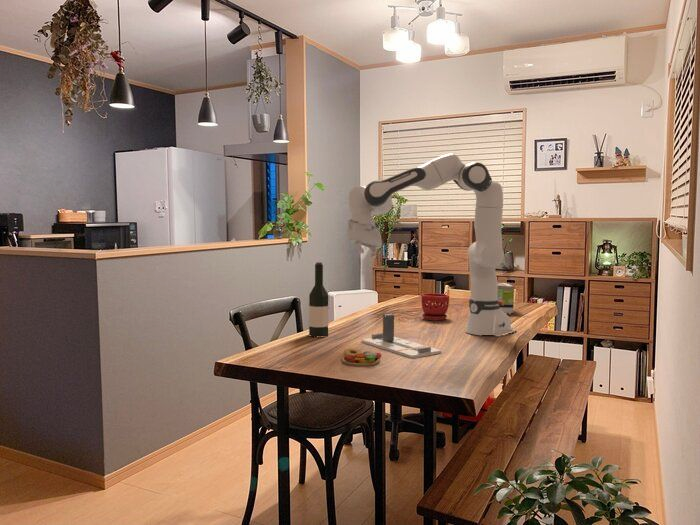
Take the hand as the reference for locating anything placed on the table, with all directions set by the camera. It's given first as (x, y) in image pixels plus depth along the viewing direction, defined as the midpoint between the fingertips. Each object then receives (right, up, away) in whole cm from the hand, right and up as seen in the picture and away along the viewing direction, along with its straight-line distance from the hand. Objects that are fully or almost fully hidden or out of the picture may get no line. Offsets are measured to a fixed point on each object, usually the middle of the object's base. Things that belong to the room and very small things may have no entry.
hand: (367, 255), depth 228 cm
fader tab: (+7, -33, -12) cm, 36 cm away
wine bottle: (-20, -33, +1) cm, 39 cm away
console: (+11, -35, -18) cm, 41 cm away
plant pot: (+34, -30, +42) cm, 61 cm away
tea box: (+71, -29, +63) cm, 99 cm away
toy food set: (-3, -37, -39) cm, 54 cm away
